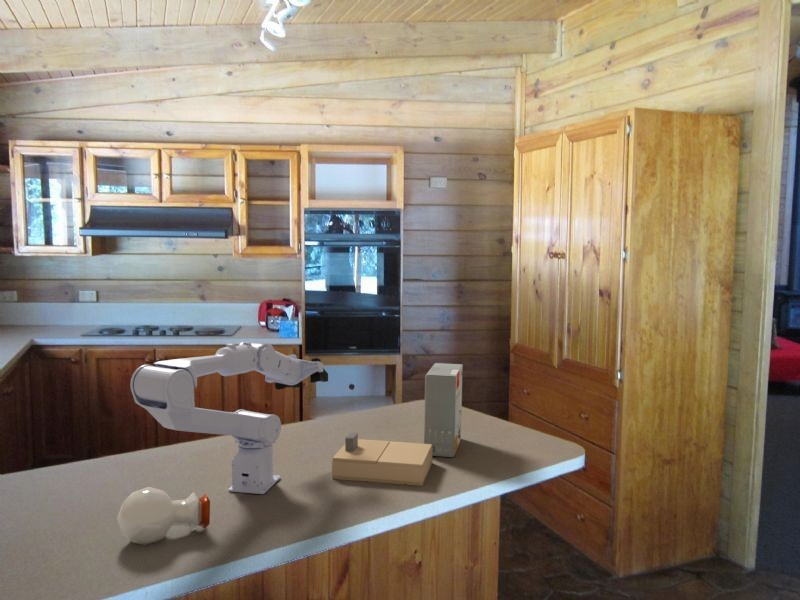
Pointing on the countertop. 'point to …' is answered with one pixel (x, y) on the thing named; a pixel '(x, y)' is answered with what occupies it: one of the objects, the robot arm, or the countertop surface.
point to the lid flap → (361, 450)
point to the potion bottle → (160, 514)
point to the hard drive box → (443, 408)
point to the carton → (390, 465)
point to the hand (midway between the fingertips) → (313, 380)
